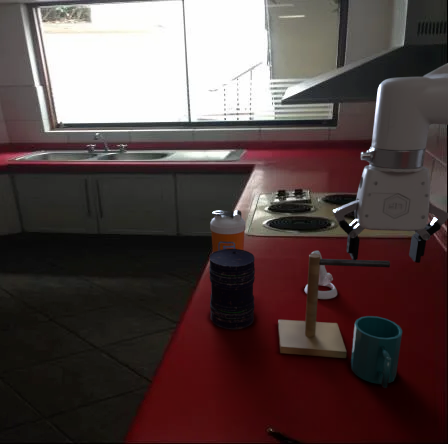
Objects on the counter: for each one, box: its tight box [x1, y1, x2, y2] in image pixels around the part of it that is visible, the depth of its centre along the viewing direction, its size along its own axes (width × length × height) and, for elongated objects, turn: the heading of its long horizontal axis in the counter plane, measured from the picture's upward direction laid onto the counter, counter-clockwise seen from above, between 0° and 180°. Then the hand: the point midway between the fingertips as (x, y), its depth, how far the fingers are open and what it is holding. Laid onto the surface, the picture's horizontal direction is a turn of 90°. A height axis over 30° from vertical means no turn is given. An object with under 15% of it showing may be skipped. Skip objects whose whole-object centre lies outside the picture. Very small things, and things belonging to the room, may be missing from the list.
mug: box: [350, 315, 403, 389], centre depth 72 cm, size 11×7×9 cm
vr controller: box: [304, 250, 338, 300], centre depth 105 cm, size 8×12×7 cm
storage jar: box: [208, 249, 256, 330], centre depth 93 cm, size 10×10×15 cm
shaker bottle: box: [209, 209, 247, 253], centre depth 108 cm, size 9×9×20 cm
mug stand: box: [277, 253, 391, 359], centre depth 81 cm, size 19×10×19 cm, turn 78°
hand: (383, 258), depth 72 cm, fingers open, 9 cm apart
